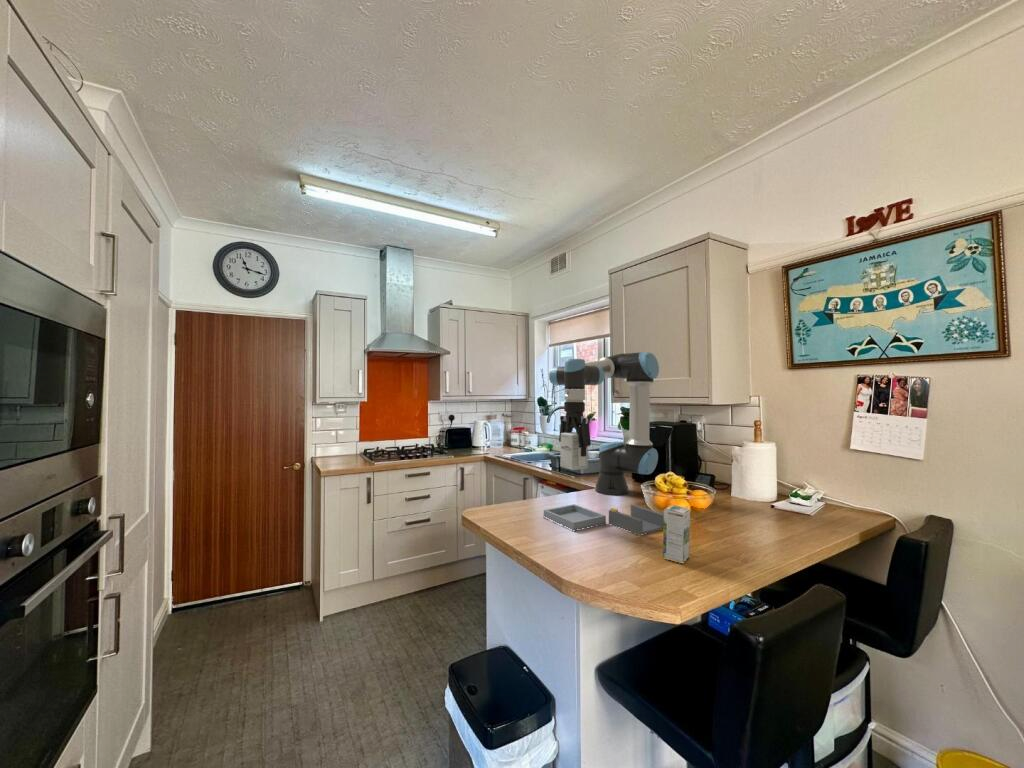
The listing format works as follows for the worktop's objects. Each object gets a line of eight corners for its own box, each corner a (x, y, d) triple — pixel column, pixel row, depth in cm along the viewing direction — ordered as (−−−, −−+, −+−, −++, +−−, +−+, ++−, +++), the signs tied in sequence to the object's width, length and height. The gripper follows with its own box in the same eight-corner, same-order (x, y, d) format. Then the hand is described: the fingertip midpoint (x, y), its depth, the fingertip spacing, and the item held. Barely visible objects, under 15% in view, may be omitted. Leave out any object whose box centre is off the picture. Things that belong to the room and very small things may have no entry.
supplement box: (559, 467, 153) (559, 432, 153) (575, 465, 157) (576, 431, 157) (571, 470, 147) (571, 434, 147) (588, 468, 150) (588, 433, 150)
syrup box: (669, 553, 123) (669, 504, 123) (690, 558, 119) (690, 508, 119) (662, 559, 118) (662, 508, 118) (684, 565, 115) (684, 512, 115)
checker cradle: (633, 518, 156) (633, 502, 156) (665, 528, 144) (665, 512, 144) (608, 523, 149) (608, 507, 149) (639, 535, 137) (639, 518, 137)
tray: (574, 511, 163) (574, 504, 163) (605, 524, 149) (605, 515, 149) (543, 518, 155) (543, 510, 155) (573, 531, 141) (573, 522, 141)
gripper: (549, 400, 159) (549, 460, 158) (585, 402, 141) (585, 469, 141) (564, 400, 163) (564, 458, 162) (601, 401, 145) (601, 467, 145)
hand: (574, 463), depth 152 cm, fingers closed on supplement box, 7 cm apart
